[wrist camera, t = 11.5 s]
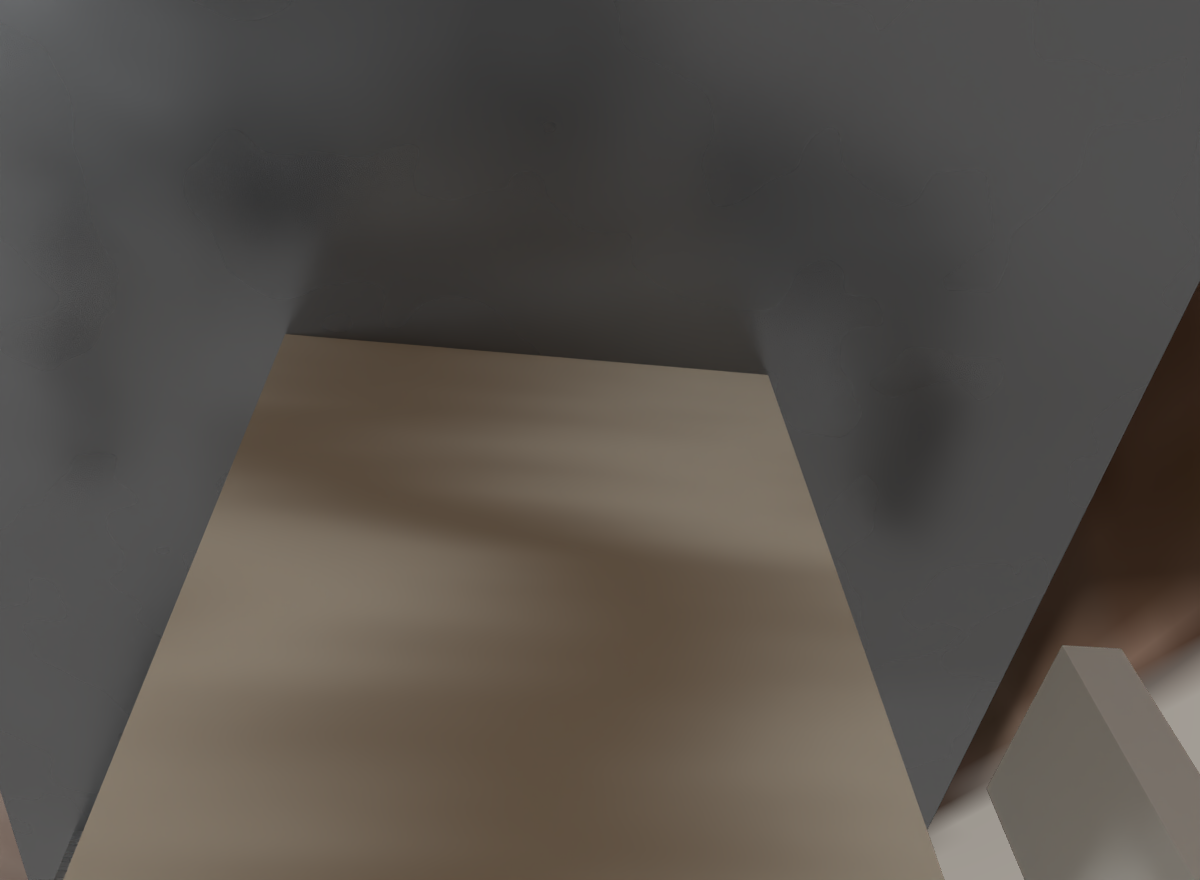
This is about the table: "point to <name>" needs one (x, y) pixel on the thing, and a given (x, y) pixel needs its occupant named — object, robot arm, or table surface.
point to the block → (508, 642)
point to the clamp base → (582, 284)
